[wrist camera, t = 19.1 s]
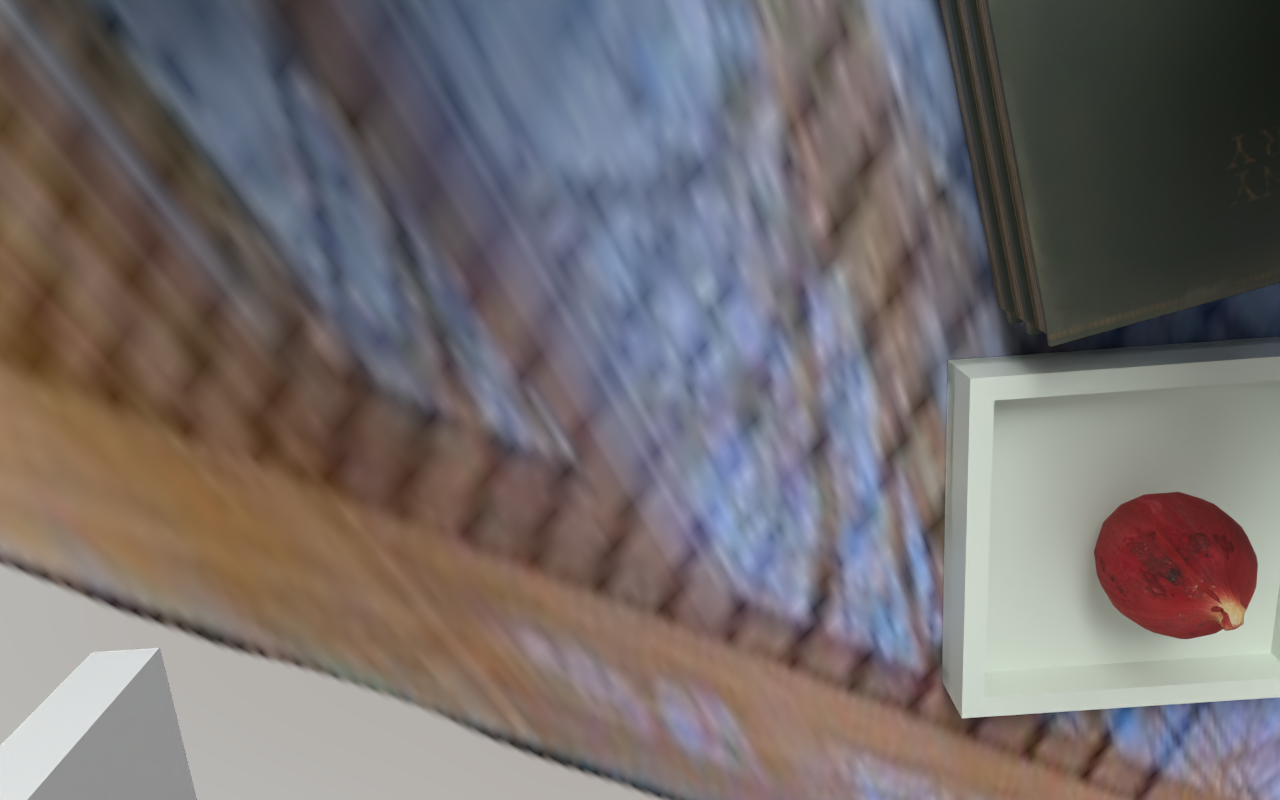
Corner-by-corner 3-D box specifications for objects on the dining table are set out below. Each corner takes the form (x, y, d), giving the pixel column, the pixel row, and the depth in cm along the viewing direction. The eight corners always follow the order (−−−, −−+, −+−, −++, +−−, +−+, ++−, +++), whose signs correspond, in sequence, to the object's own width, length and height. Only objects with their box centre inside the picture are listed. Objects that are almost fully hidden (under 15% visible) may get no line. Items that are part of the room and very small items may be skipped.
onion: (1037, 539, 44) (1122, 631, 36) (1127, 441, 43) (1234, 514, 35) (1131, 607, 45) (1233, 710, 37) (1222, 513, 44) (1346, 600, 36)
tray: (941, 681, 47) (961, 718, 44) (947, 359, 43) (970, 378, 40) (1276, 658, 47) (1317, 694, 44) (1318, 333, 42) (1368, 350, 40)
